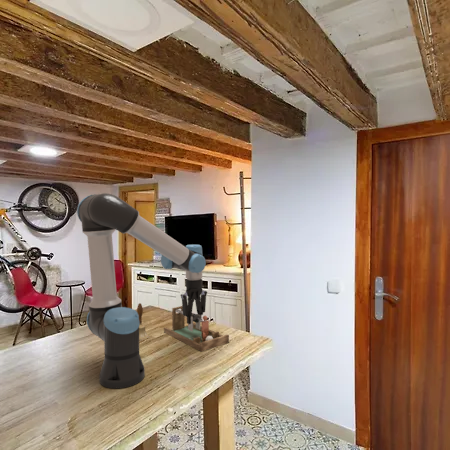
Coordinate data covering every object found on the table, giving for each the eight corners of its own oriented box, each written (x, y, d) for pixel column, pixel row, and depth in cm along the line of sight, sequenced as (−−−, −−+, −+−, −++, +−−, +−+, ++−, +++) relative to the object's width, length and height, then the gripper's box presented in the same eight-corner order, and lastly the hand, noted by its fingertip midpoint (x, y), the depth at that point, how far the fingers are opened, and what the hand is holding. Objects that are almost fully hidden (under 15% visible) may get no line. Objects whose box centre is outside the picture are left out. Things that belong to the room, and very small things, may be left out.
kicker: (203, 342, 145) (203, 317, 145) (171, 326, 166) (170, 304, 165) (209, 340, 147) (209, 315, 147) (176, 325, 168) (176, 303, 167)
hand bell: (151, 334, 159) (150, 301, 159) (145, 341, 151) (145, 306, 151) (134, 334, 160) (134, 301, 160) (127, 340, 152) (127, 305, 152)
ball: (202, 338, 145) (205, 346, 143) (206, 335, 143) (209, 343, 141) (209, 336, 147) (212, 344, 146) (213, 333, 145) (216, 341, 144)
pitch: (201, 354, 136) (200, 325, 136) (164, 334, 159) (163, 309, 159) (228, 345, 146) (228, 318, 146) (190, 327, 169) (190, 304, 169)
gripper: (183, 282, 144) (183, 336, 145) (213, 277, 155) (213, 327, 155) (174, 279, 150) (174, 331, 151) (203, 275, 160) (203, 323, 161)
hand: (194, 329), depth 153 cm, fingers closed on kicker, 3 cm apart
